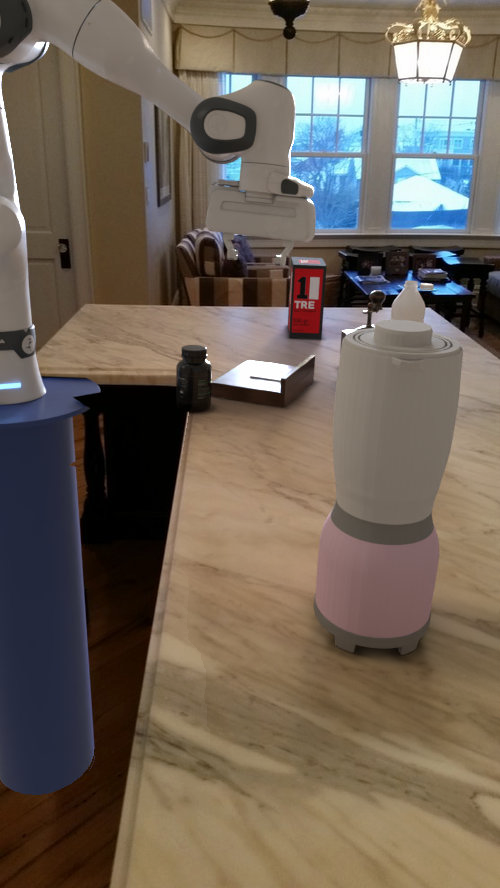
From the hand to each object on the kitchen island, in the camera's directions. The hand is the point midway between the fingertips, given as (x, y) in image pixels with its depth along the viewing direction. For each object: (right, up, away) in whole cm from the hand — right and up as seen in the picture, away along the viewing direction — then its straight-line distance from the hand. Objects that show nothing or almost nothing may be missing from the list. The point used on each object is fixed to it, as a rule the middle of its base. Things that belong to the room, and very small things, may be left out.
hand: (255, 262), depth 130 cm
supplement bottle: (-12, -26, +9) cm, 30 cm away
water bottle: (+30, -26, +14) cm, 42 cm away
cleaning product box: (+14, -1, +73) cm, 75 cm away
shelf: (+2, -21, +22) cm, 31 cm away
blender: (+12, -52, -53) cm, 75 cm away
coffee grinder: (+26, -16, +37) cm, 48 cm away
